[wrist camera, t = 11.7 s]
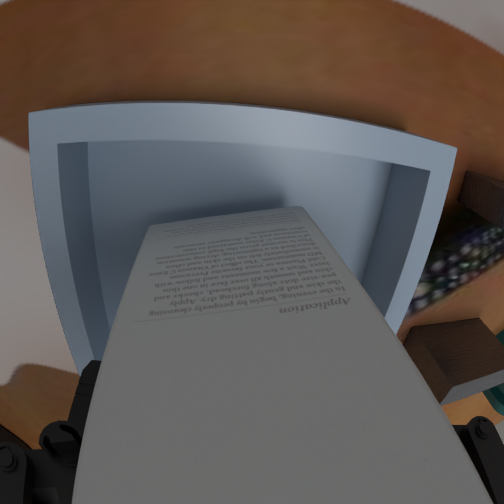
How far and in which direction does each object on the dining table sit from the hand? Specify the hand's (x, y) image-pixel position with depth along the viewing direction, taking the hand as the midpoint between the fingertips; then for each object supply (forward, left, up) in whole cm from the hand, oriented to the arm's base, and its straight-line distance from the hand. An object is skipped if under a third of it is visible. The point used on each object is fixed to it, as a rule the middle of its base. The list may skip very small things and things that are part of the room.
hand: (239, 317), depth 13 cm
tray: (0, 0, -4) cm, 4 cm away
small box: (0, 0, -2) cm, 2 cm away
